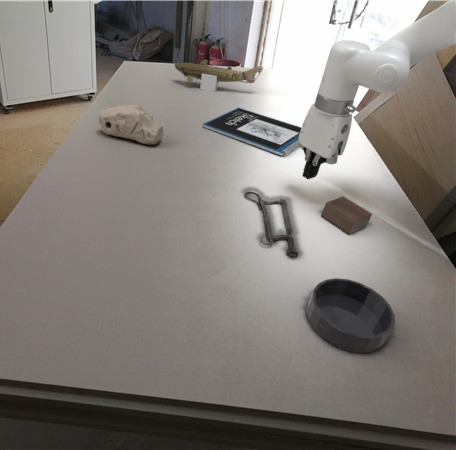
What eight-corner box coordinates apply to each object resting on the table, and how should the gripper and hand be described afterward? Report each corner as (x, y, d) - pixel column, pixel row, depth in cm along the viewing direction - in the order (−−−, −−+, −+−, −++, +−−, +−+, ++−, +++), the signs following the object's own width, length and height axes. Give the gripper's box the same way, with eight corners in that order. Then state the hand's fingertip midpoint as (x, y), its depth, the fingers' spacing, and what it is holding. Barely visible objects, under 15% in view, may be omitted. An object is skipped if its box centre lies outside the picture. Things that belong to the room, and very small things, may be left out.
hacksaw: (298, 260, 82) (299, 254, 82) (247, 253, 83) (248, 248, 83) (285, 196, 102) (286, 191, 101) (243, 192, 102) (245, 187, 102)
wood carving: (255, 99, 157) (261, 69, 150) (170, 85, 165) (172, 57, 159) (259, 92, 163) (264, 63, 157) (176, 79, 172) (178, 51, 165)
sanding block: (337, 209, 98) (343, 196, 95) (366, 227, 92) (372, 213, 90) (320, 216, 95) (325, 202, 93) (348, 235, 90) (354, 221, 87)
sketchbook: (237, 111, 147) (238, 105, 145) (315, 137, 131) (317, 131, 130) (202, 127, 133) (203, 121, 132) (284, 158, 118) (286, 152, 117)
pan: (339, 284, 77) (346, 269, 75) (401, 333, 69) (411, 318, 66) (290, 309, 72) (296, 294, 69) (351, 366, 63) (360, 350, 61)
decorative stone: (95, 135, 125) (94, 104, 119) (107, 126, 131) (106, 96, 125) (155, 149, 119) (156, 117, 113) (165, 139, 125) (167, 108, 119)
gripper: (373, 113, 84) (343, 188, 95) (318, 90, 94) (297, 160, 105) (350, 119, 81) (322, 195, 92) (295, 94, 91) (276, 166, 102)
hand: (308, 176), depth 99 cm, fingers closed
